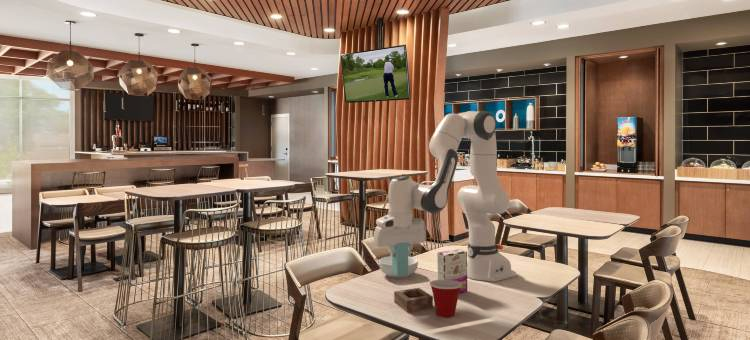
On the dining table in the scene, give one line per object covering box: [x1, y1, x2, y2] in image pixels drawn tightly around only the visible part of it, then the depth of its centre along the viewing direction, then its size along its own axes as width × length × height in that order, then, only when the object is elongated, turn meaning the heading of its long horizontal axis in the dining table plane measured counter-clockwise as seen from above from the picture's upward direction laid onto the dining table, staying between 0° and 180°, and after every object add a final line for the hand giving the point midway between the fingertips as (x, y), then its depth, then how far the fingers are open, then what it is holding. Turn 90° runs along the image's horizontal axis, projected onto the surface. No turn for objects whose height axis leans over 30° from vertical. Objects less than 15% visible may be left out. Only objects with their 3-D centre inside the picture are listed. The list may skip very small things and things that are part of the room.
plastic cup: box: [429, 279, 462, 319], centre depth 157 cm, size 11×11×12 cm
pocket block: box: [393, 287, 434, 313], centre depth 166 cm, size 10×10×5 cm
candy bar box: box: [436, 248, 468, 294], centre depth 180 cm, size 11×5×16 cm, turn 117°
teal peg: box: [392, 243, 408, 276], centre depth 174 cm, size 4×4×12 cm
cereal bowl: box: [378, 255, 419, 280], centre depth 202 cm, size 17×17×7 cm
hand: (400, 256), depth 174 cm, fingers closed on teal peg, 4 cm apart
